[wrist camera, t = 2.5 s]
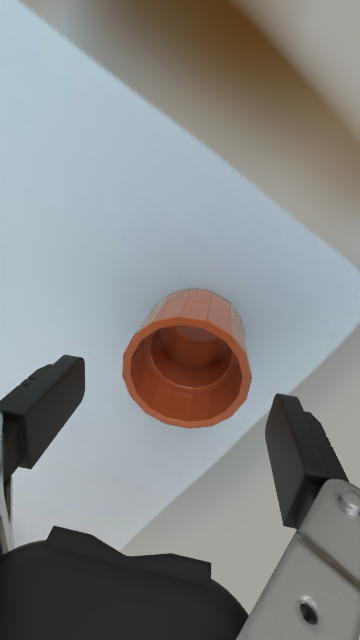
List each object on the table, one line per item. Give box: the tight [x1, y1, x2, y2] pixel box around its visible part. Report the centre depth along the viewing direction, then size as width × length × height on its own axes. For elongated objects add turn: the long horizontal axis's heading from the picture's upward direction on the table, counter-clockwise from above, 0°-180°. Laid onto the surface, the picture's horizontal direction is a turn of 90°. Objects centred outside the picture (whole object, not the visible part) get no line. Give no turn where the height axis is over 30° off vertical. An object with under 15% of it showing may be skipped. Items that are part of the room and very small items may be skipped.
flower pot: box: [123, 289, 252, 428], centre depth 14 cm, size 6×6×5 cm
